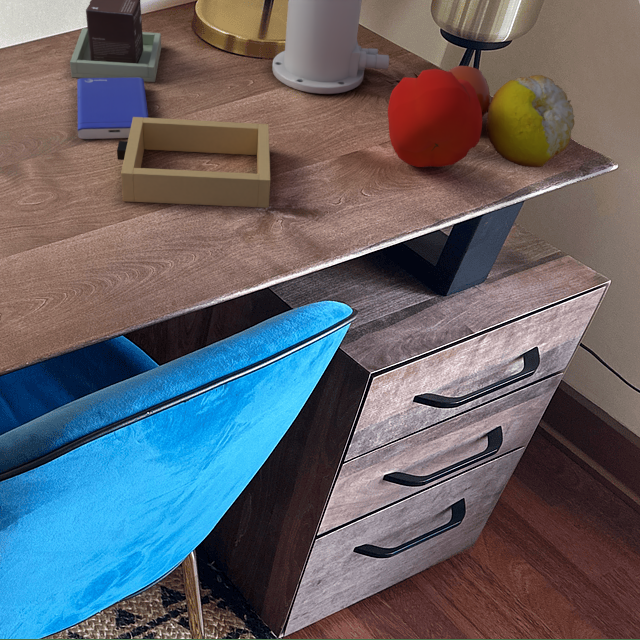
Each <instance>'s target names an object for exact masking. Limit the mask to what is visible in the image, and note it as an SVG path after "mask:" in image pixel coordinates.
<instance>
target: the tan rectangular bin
mask: <svg viewBox="0 0 640 640" xmlns="http://www.w3.org/2000/svg"><path fill="white" fill-rule="evenodd" d="M269 127H270V124H268V123H253V122H252V123H250V122H233V121H216V120H195V119H180V118H162V117H161V118H159V117H148V118H143V117H133V119H132V124H131V129H130V133H129V138H127V140H119V141H118V144H117V148H116V155H117V157H116V158H117V160H118V161H123V162H122V167H121V170H120V178H121V192H122V202H127V203H129V202H131V203H150V204H151V203H154V204H176V205H195V206H196V205H197V206H198V205H199V206H223V207H243V208H263V209H267V208H269V207H270V193H271V156H270V128H269ZM145 150H148V151H149V150H150V151H167V152H185V153H187V152H188V153H204V154H205V153H207V154H225V155H226V154H228V155H230V154H231V155H246V156H247V155H248V156H256V173H253V172H251V173H250V172H232V171H231V172H229V171H210V170H209V171H208V170H190V169H171V168H170V169H169V168H167V169H166V168H165V169H164V168H147V167H142V163H143V157H144V152H145Z"/></svg>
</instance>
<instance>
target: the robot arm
mask: <svg viewBox="0 0 640 640" xmlns="http://www.w3.org/2000/svg"><path fill="white" fill-rule="evenodd" d="M361 9H362V0H288V1H287V15H286V27H285V28H286V30H285V41H284V42H285V43H284V50H283V51H281V52H279V53H278V54H277V55H275V56H274V58H273V60H272V66H271V67H272V69H271V71H272V73H273V75H274V77H275V78H276V79H277V80H278V81H279V82H281V83H282V84H283V85H285V86H287V87H289V88H291V89H294V90H298V91H301V92H305V93H309V94H310V93H311V94H318V95H333V94H335V95H336V94H342V93H346V92H349V91H352V90H354V89H355V88H358V87H359V86H360V85H361V84H362V82H363V80H364V74H365V70H366V69H374V70H383V71H384V70H388V69H389V66H390V56H389V54H379V49H378V48H371V47H368V48H366V47H365V48H364V47H363V48H362V45H359V43H358V34H359V33H358V31H359V25H360V18H361Z"/></svg>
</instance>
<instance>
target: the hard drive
mask: <svg viewBox="0 0 640 640" xmlns="http://www.w3.org/2000/svg"><path fill="white" fill-rule="evenodd" d="M76 81H77V84H76V85H77V86H76V87H77V89H76V90H77V91H76V92H77V93H76V95H77V96H76V97H77V135H78V137H77V138H78V139H81V140H98V139H99V140H102V139H105V140H106V139H128V138H129V133H130V129H131V124H132V119H133V117H143V118H149V110H148V103H147V96H146V95H147V94H146V87H145V81H144V79H142V78H77V80H76Z"/></svg>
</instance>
